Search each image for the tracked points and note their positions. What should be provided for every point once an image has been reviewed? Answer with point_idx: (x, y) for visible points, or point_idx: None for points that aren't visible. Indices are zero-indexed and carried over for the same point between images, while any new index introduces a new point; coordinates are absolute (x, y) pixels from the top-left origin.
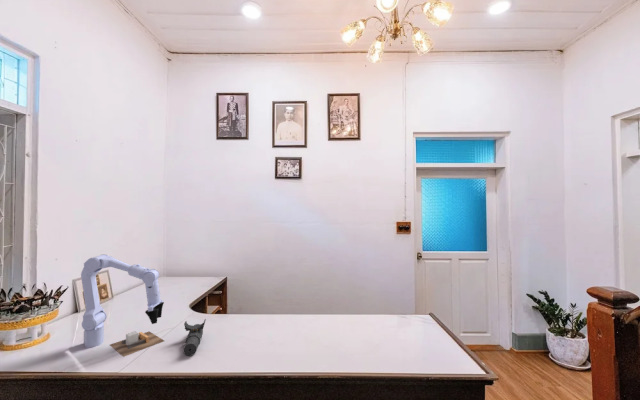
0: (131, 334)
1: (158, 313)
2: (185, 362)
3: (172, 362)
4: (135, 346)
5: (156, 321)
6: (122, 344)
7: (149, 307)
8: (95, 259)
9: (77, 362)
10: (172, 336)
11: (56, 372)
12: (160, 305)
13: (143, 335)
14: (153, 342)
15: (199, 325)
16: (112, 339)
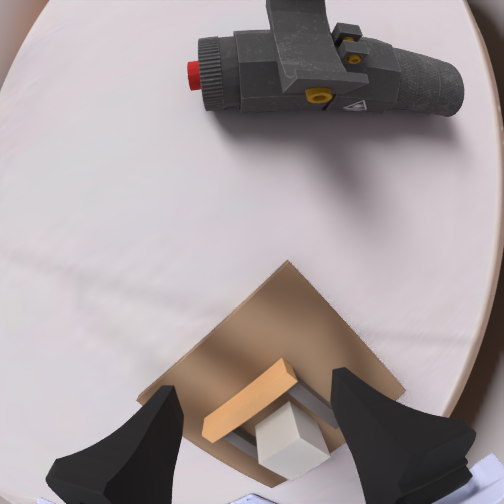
0: (307, 458)
1: (167, 431)
2: (462, 114)
3: (464, 162)
4: (323, 397)
5: (353, 374)
6: None
7: (499, 502)
8: None
9: (361, 491)
10: (196, 243)
11: None
12: (130, 487)
13: (261, 408)
14: (297, 326)
15: (287, 16)
16: (201, 493)
